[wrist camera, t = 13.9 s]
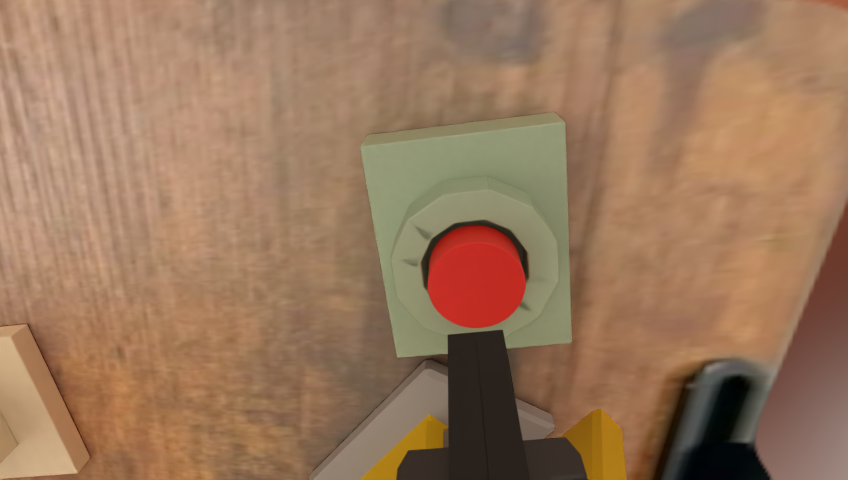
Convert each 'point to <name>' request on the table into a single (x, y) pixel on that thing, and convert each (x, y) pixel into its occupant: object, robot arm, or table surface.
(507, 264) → the button
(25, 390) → the bracket
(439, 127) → the button block
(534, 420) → the toy computer monitor
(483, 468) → the robot arm
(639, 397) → the table surface
